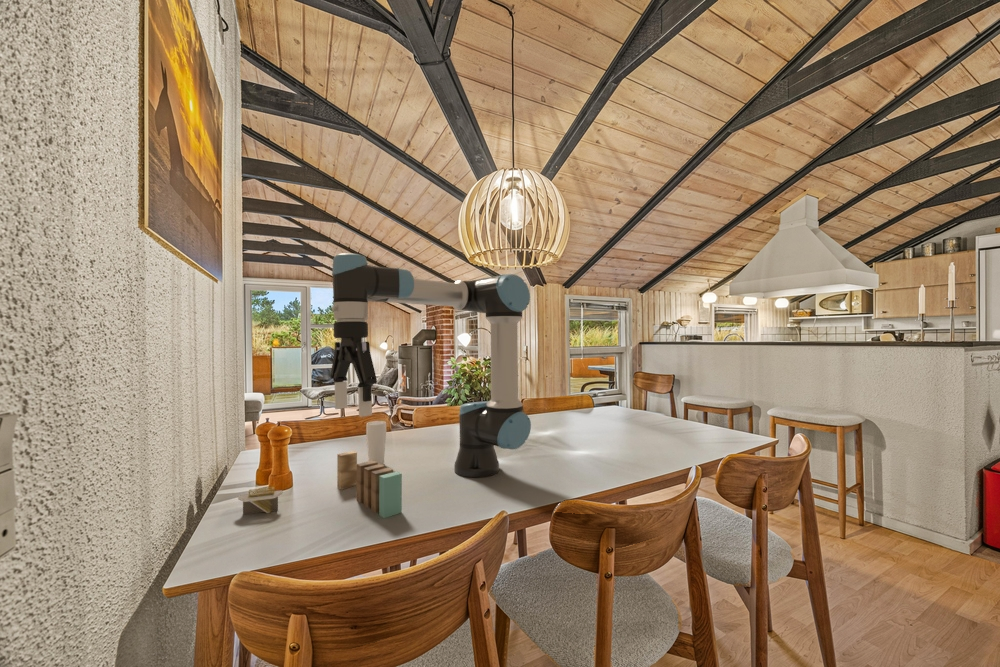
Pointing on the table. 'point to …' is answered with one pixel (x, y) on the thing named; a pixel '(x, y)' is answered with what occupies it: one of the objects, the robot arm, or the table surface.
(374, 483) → the domino
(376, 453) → the drinking glass
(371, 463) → the domino
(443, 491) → the table surface
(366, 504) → the domino
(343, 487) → the domino
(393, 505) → the domino
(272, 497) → the platform
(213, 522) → the table surface
